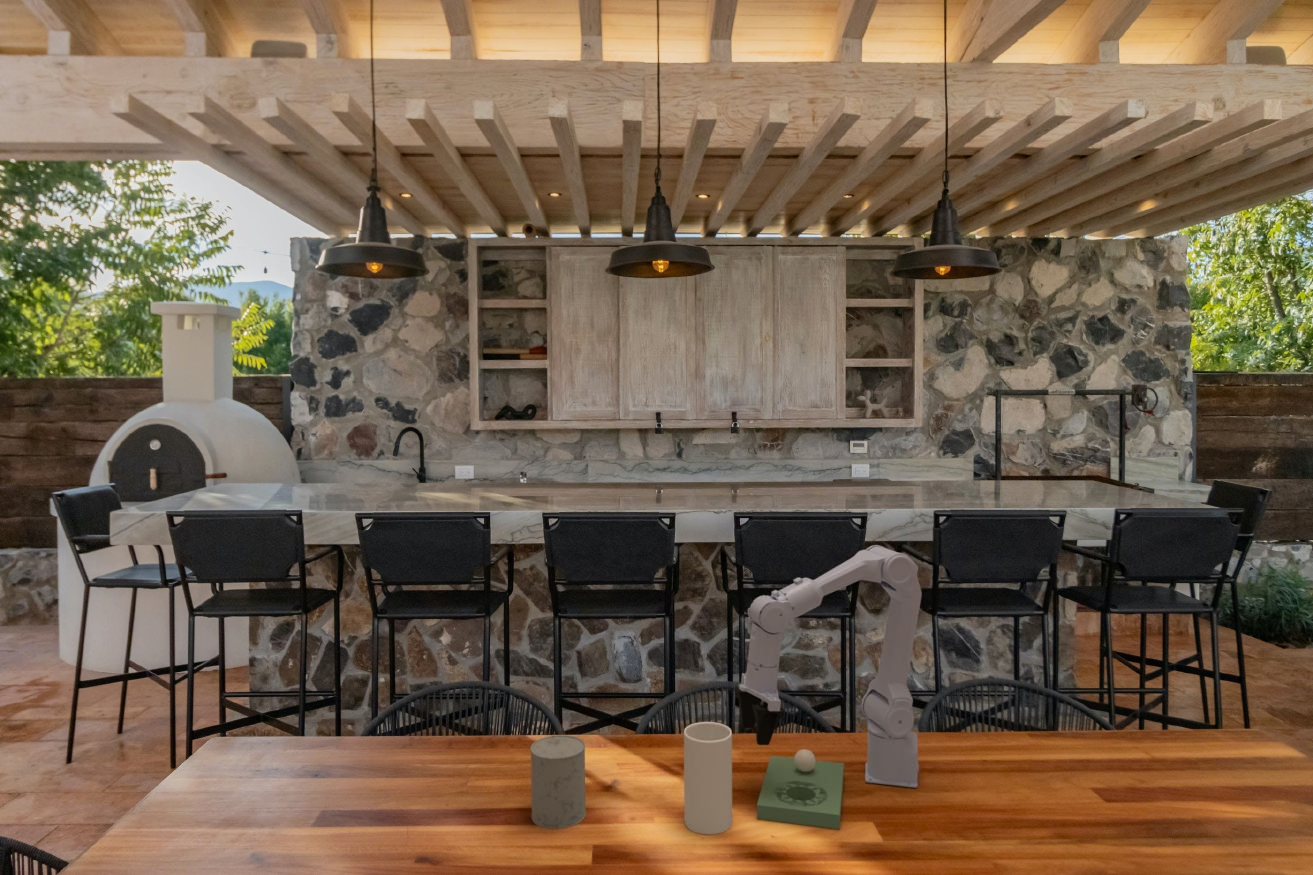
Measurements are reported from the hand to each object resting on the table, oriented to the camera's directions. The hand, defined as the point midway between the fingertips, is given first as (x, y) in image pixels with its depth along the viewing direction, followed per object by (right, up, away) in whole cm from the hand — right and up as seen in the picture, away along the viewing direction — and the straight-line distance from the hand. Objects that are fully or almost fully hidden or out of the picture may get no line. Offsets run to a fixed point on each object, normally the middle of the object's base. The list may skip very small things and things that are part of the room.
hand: (755, 735), depth 151 cm
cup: (-9, -12, -9) cm, 18 cm away
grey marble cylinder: (-35, -12, -6) cm, 38 cm away
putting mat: (+9, -11, -1) cm, 14 cm away
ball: (+10, -6, +4) cm, 12 cm away
